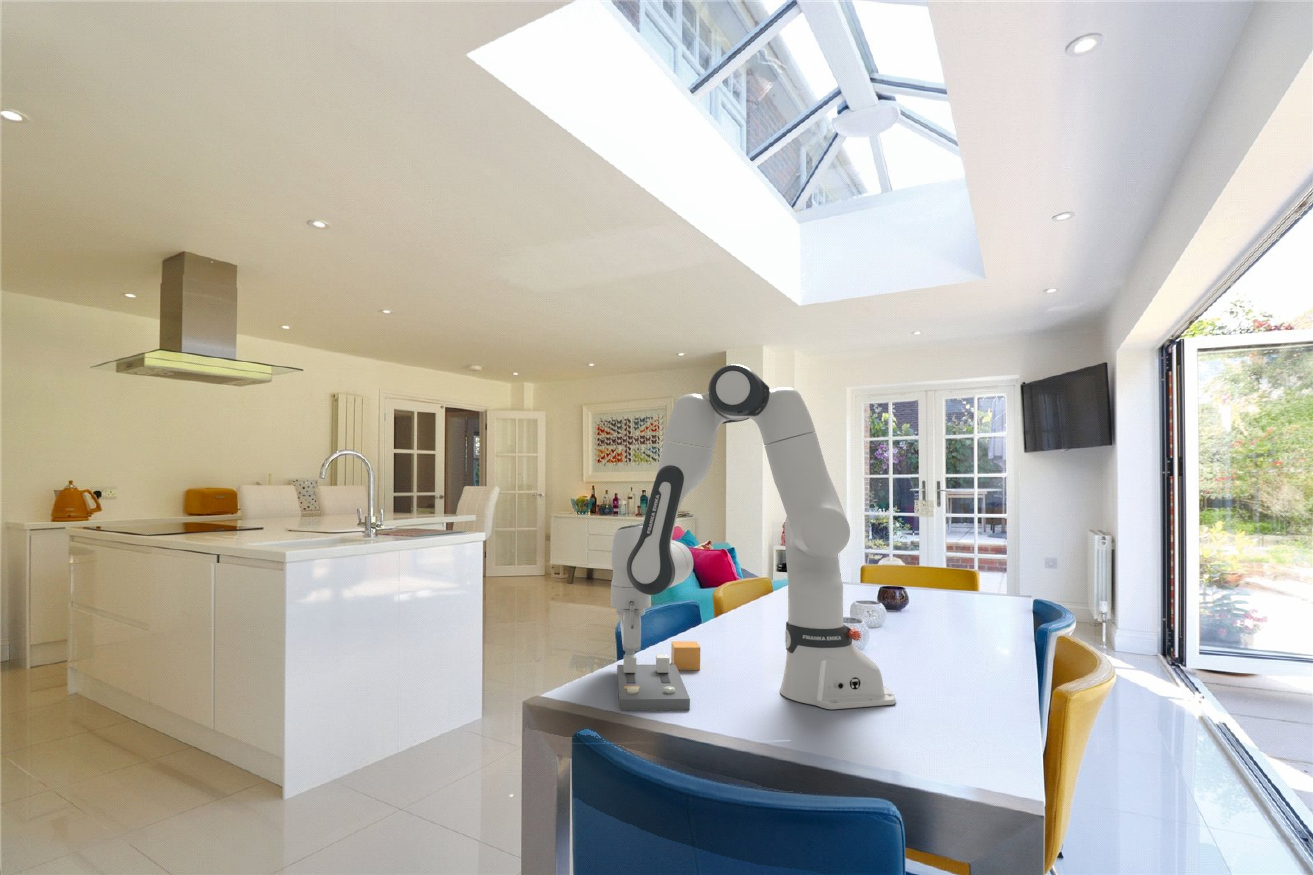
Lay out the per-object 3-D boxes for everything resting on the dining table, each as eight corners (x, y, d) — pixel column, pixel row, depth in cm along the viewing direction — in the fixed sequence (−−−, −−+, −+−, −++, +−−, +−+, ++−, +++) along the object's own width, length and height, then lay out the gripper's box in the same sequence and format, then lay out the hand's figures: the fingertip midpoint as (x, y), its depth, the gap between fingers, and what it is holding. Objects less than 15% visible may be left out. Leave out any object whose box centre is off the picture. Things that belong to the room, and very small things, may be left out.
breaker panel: (675, 673, 145) (675, 660, 146) (689, 709, 122) (690, 694, 122) (617, 673, 144) (617, 661, 145) (619, 710, 120) (620, 694, 121)
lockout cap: (696, 662, 155) (696, 641, 155) (700, 669, 149) (700, 647, 149) (671, 663, 154) (671, 641, 155) (673, 670, 148) (674, 647, 149)
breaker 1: (635, 668, 140) (635, 654, 141) (636, 672, 137) (636, 658, 138) (623, 668, 140) (623, 654, 140) (623, 672, 137) (624, 658, 137)
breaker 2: (667, 668, 141) (668, 654, 141) (669, 672, 138) (669, 658, 138) (655, 668, 141) (656, 654, 141) (656, 672, 138) (657, 658, 138)
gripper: (648, 606, 134) (647, 676, 132) (642, 591, 154) (641, 651, 153) (617, 606, 133) (615, 676, 132) (615, 591, 153) (614, 651, 152)
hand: (629, 662), depth 143 cm, fingers closed
